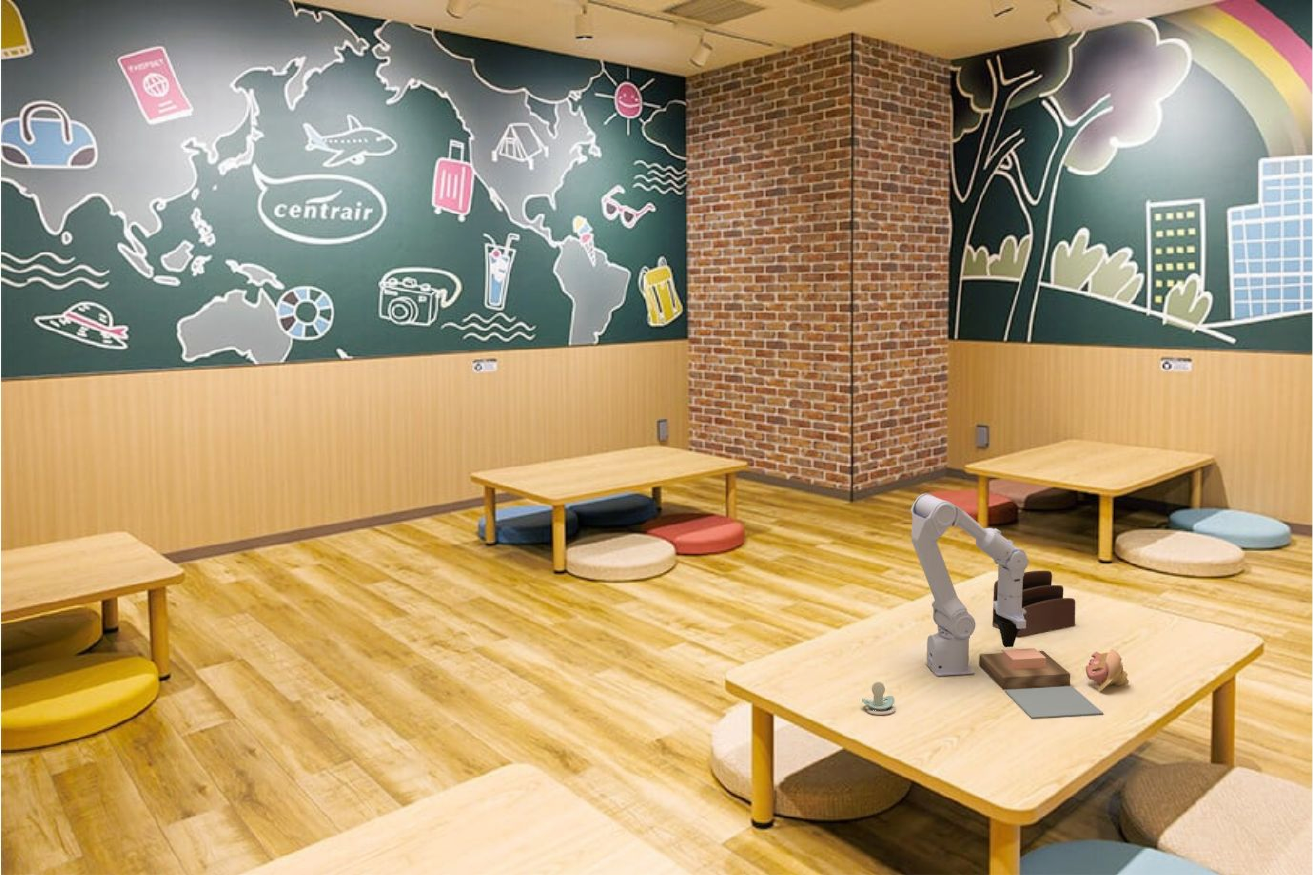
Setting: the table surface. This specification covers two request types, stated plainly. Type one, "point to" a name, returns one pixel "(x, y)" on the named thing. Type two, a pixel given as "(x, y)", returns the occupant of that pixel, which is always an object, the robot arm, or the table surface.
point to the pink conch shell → (1107, 669)
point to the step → (1024, 673)
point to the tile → (1023, 658)
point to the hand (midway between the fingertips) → (1008, 646)
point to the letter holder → (1042, 604)
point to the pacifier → (879, 701)
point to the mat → (1053, 702)
